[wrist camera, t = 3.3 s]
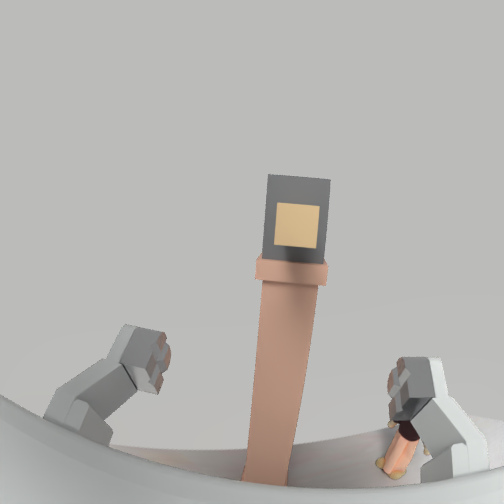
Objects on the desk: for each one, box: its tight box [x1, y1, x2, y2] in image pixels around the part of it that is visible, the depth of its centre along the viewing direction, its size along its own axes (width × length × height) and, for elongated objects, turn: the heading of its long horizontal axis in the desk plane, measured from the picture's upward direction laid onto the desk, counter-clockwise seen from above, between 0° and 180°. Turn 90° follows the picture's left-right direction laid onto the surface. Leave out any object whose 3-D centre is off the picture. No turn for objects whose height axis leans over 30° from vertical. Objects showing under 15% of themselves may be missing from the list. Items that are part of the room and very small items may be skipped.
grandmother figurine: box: [376, 420, 430, 480], centre depth 29 cm, size 8×4×13 cm, turn 31°
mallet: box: [262, 174, 330, 264], centre depth 20 cm, size 4×13×6 cm, turn 172°
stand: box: [241, 253, 328, 486], centre depth 27 cm, size 5×5×26 cm
